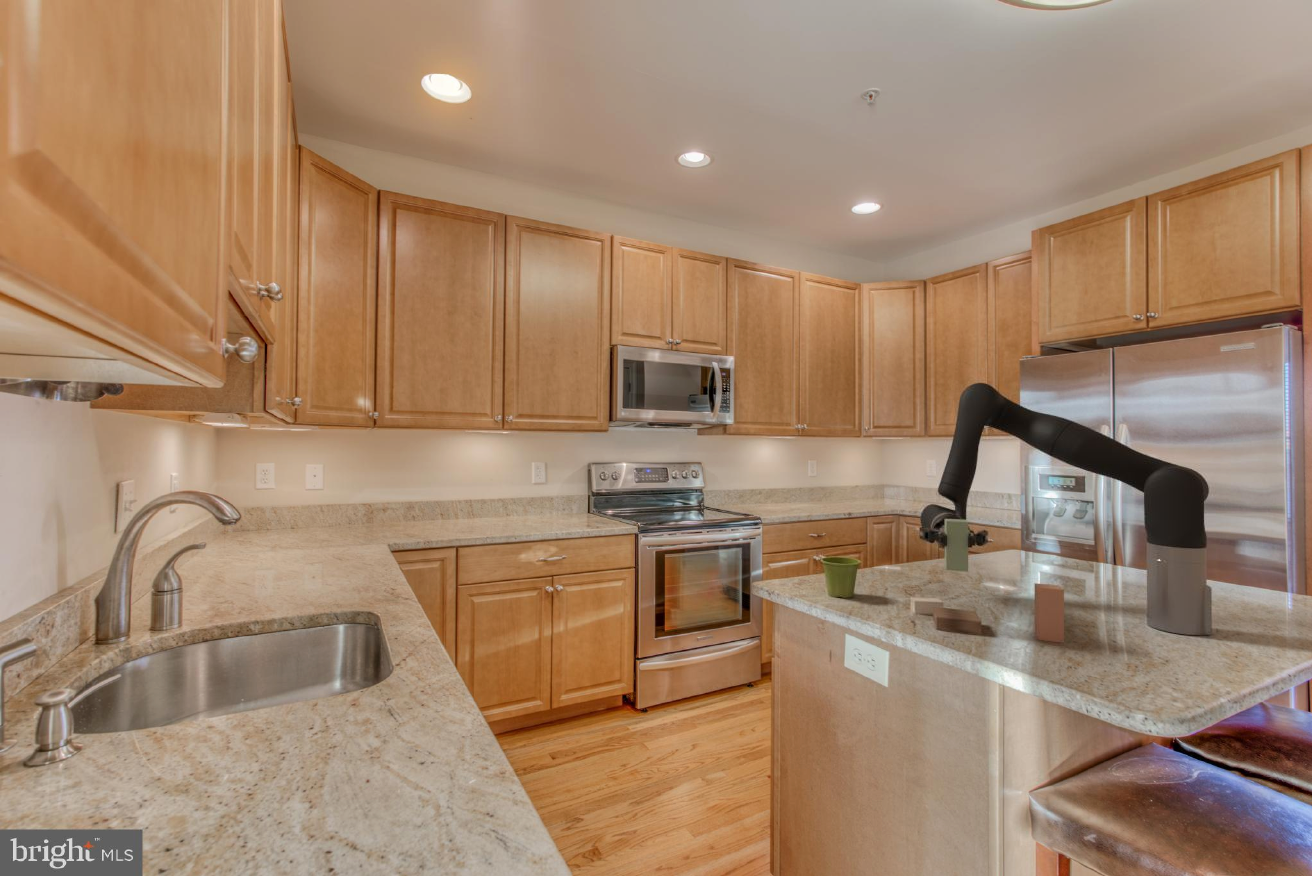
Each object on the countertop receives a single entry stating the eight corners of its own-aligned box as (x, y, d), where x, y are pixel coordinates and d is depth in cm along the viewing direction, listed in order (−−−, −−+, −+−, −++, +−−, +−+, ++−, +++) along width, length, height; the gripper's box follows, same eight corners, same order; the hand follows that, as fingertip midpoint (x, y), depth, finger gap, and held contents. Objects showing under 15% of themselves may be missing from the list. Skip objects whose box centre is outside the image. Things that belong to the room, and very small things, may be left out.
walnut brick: (975, 625, 124) (975, 610, 124) (981, 636, 116) (981, 621, 116) (933, 620, 127) (933, 606, 127) (936, 631, 119) (936, 617, 119)
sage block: (965, 567, 123) (965, 519, 123) (968, 571, 119) (968, 522, 119) (944, 566, 124) (944, 518, 124) (946, 569, 121) (946, 521, 121)
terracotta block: (1058, 636, 116) (1058, 585, 116) (1063, 642, 112) (1063, 589, 112) (1034, 633, 117) (1034, 583, 117) (1039, 639, 114) (1039, 587, 114)
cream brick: (938, 611, 133) (938, 598, 133) (943, 615, 130) (943, 602, 130) (910, 610, 134) (910, 597, 134) (914, 614, 131) (914, 600, 131)
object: (838, 601, 140) (839, 565, 140) (812, 592, 148) (812, 558, 148) (868, 597, 144) (869, 562, 144) (841, 589, 152) (841, 555, 152)
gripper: (915, 512, 138) (919, 521, 122) (984, 515, 133) (998, 525, 117) (915, 544, 138) (919, 557, 122) (984, 548, 133) (998, 563, 117)
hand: (957, 541), depth 119 cm, fingers closed on sage block, 4 cm apart
